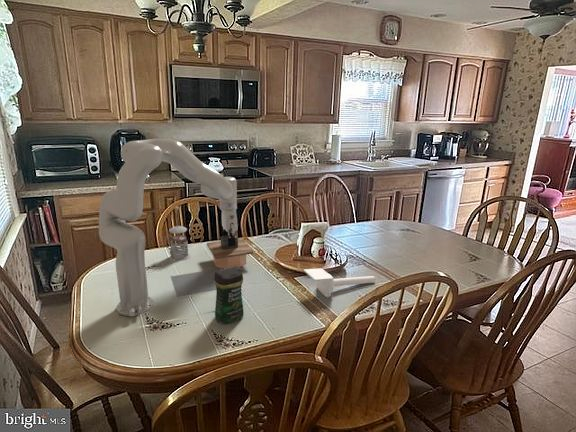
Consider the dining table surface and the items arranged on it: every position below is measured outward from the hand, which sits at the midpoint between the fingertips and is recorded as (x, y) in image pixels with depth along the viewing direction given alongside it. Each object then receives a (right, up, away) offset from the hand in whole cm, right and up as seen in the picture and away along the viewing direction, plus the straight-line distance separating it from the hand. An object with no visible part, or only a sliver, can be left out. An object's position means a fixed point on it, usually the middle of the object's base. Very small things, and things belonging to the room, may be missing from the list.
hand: (229, 242), depth 173 cm
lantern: (-25, -8, +8) cm, 28 cm away
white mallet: (+49, -18, -17) cm, 55 cm away
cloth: (0, -3, +1) cm, 3 cm away
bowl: (0, -10, +3) cm, 10 cm away
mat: (-11, -16, -16) cm, 25 cm away
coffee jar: (+6, -24, -39) cm, 46 cm away
